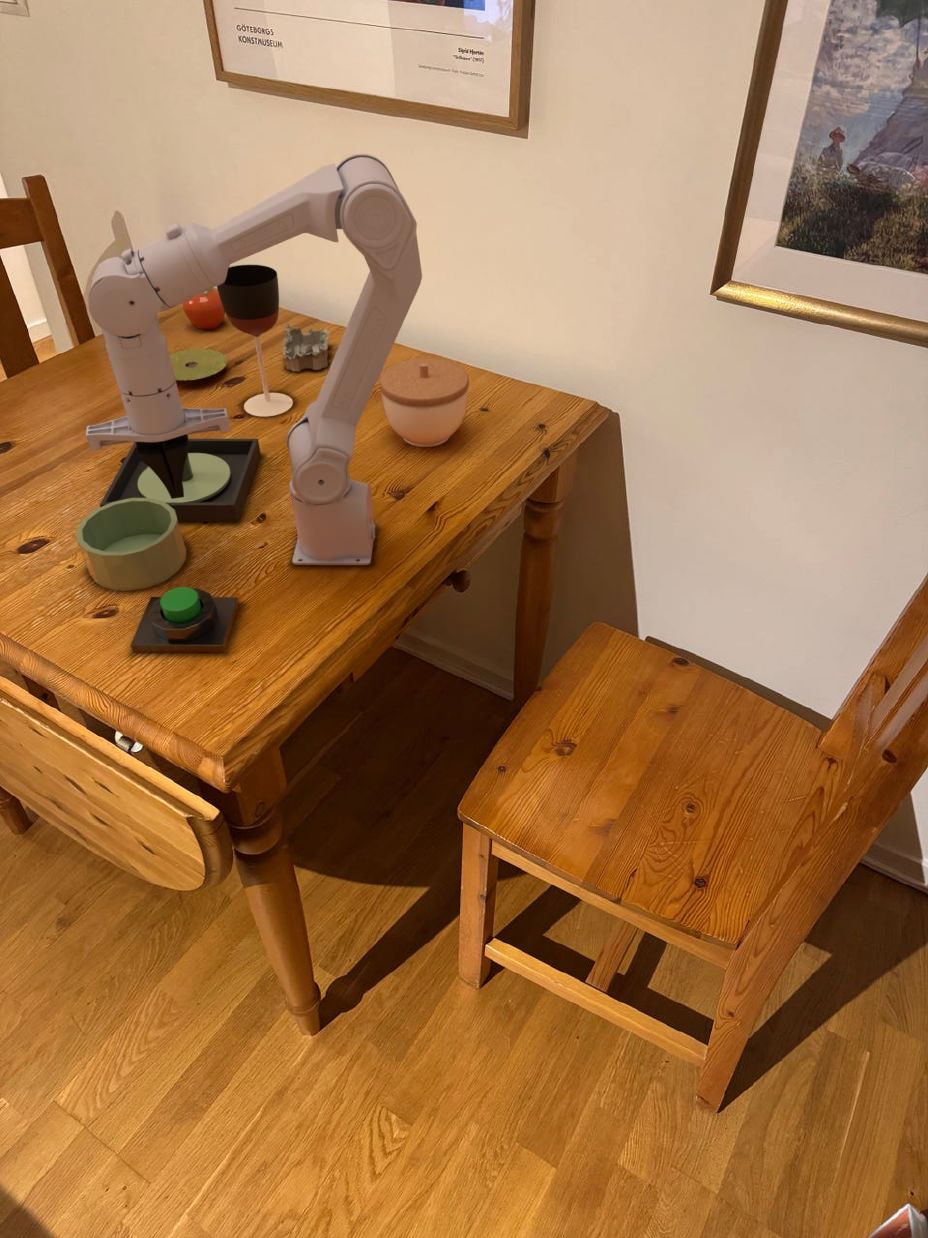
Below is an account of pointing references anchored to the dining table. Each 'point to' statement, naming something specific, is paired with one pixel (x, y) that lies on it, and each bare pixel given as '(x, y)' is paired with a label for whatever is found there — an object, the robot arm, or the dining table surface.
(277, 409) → the wineglass
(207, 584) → the dining table surface
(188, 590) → the button
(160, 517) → the pot
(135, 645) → the panel
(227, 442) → the tray
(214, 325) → the tomato
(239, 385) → the dining table surface
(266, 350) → the dining table surface
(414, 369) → the lidded bowl
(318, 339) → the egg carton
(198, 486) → the lid
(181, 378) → the mat
